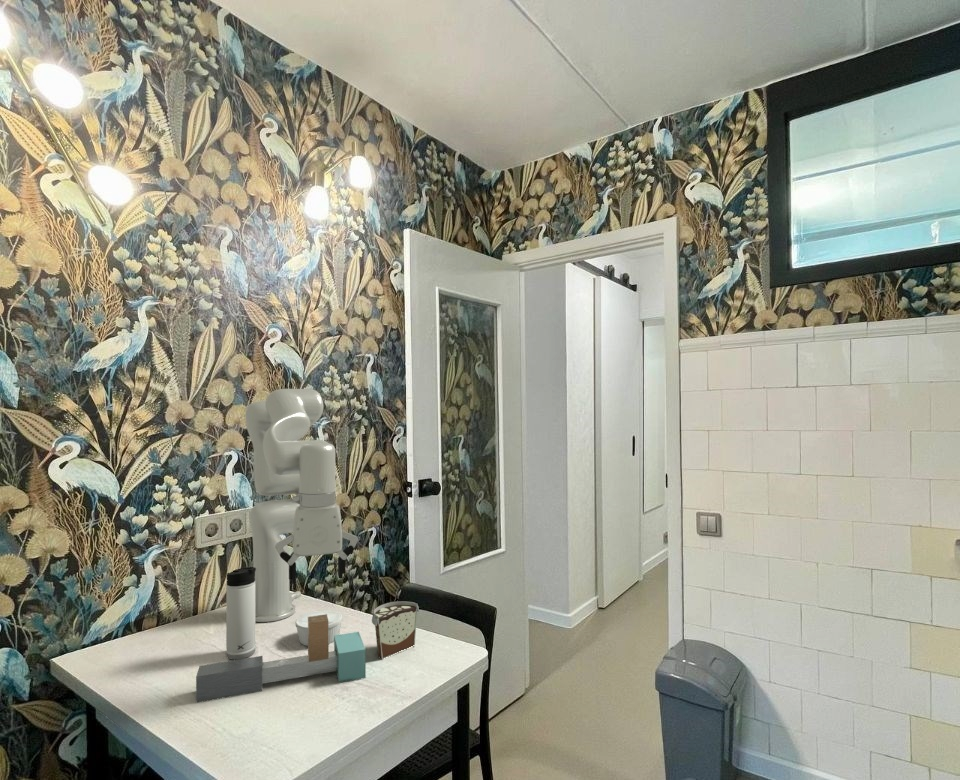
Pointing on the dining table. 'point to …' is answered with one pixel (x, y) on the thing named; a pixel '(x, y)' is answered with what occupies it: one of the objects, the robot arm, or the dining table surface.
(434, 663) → the dining table surface
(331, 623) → the ramekin
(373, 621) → the food container
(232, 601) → the travel mug
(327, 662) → the multicoloured piece
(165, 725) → the dining table surface
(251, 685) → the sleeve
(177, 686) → the dining table surface
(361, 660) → the socket block
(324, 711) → the dining table surface
